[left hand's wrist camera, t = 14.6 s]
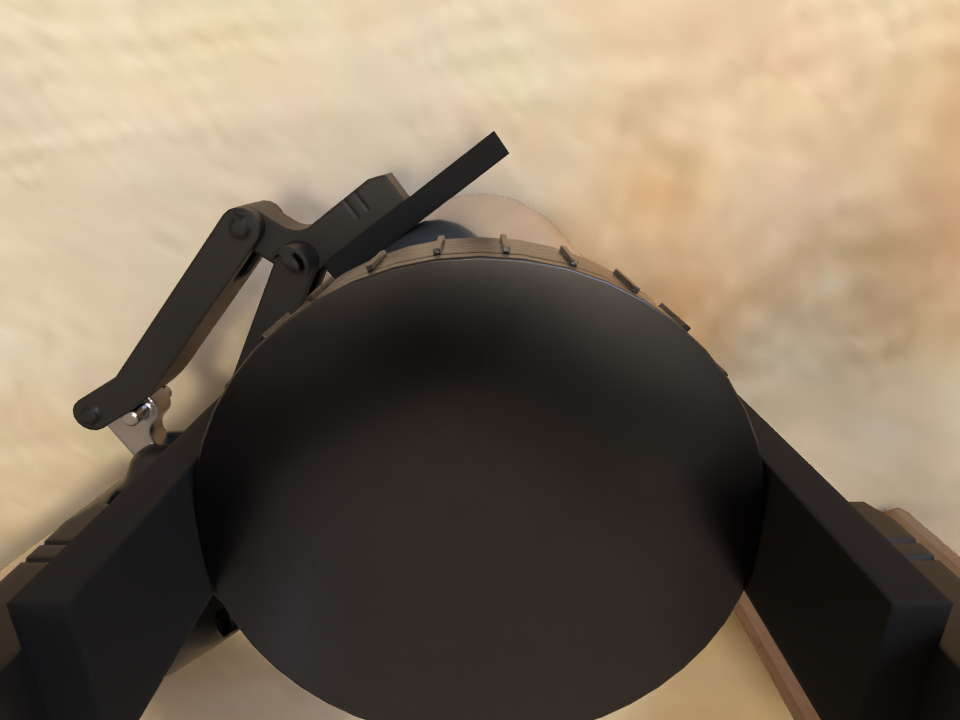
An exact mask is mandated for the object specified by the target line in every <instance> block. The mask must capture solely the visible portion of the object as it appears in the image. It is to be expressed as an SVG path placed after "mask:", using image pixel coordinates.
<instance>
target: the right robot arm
mask: <svg viewBox="0 0 960 720" xmlns="http://www.w3.org/2000/svg"><path fill="white" fill-rule="evenodd" d="M508 154H509V152H508V151H507V149H506V148H505V146H504V145H503V143H502V142H501V140H500V139H499V137H498V136H497V134H496V133H495V132H494V131H493V132H492V133H491V134H490V135H488V136H487V137H486V138H484V139H483V140H482V141H481V142H479V143H478V144H477V145H476V146H474V147H473V148H472V149H470V150H469V151H468V152H467V153H465V154H464V155H463V156H461V157H460V158H459V159H458V160H456V161H455V162H454V163H453V164H451V165H450V166H449V167H447V168H446V169H445V170H444V171H442V172H441V173H440V174H438V175H437V176H436V177H435V178H433V179H432V180H431V181H430V182H428V183H427V184H426V185H424V186H423V187H422V188H421V189H419V190H418V191H417V192H415V193H414V194H413V195H412V196H410V197H409V195H408V194H407V193H406V191H405V190H404V189H403V187H402V186H401V185H400V183H399V182H398V181H397V179H396V178H395V177H394V175H393V174H392V173H389V174H385V175H381V176H378V177H374V178H371V179H368V180H367V181H365V182H364V183H363V184H362V185H361V186H359V187H358V188H357V189H356V190H354V191H353V192H352V193H351V194H349V195H348V196H347V197H346V198H345V199H343V200H342V201H341V202H339V203H338V204H337V205H336V206H334V207H333V208H332V209H331V210H330V211H328V212H327V213H326V214H325V215H323V216H322V217H321V218H320V219H318V220H317V221H316V222H315V223H313V224H310V225H306V224H301V223H299V222H297V221H295V220H293V219H292V218H290V217H289V216H287V215H285V214H284V213H283V212H282V210H281V209H280V208H279V207H278V205H277V204H275V203H273V202H271V201H264V200H263V201H259V202H254V203H251V204H247V205H243V206H239V207H236V208H233V209H229V210H228V211H227V212H226V213H225V214H224V215H223V216H222V217H221V219H220V220H219V222H218V223H217V225H216V226H215V228H214V229H213V231H212V233H211V234H210V236H209V237H208V239H207V240H206V242H205V243H204V245H203V246H202V248H201V249H200V251H199V252H198V254H197V255H196V257H195V258H194V260H193V261H192V263H191V264H190V266H189V267H188V269H187V270H186V272H185V273H184V275H183V276H182V278H181V279H180V281H179V282H178V284H177V285H176V287H175V288H174V290H173V291H172V293H171V294H170V296H169V298H168V299H167V301H166V302H165V304H164V305H163V307H162V308H161V310H160V311H159V313H158V314H157V316H156V317H155V319H154V320H153V322H152V323H151V325H150V326H149V328H148V329H147V331H146V332H145V334H144V335H143V337H142V338H141V340H140V341H139V343H138V344H137V346H136V347H135V349H134V350H133V352H132V353H131V355H130V356H129V358H128V359H127V361H126V363H125V364H124V366H123V367H122V369H121V370H120V372H119V373H118V375H117V376H116V377H115V378H113V379H111V380H110V381H108V382H107V383H105V384H104V385H102V386H100V387H99V388H97V389H96V390H94V391H93V392H91V393H89V394H88V395H86V396H85V397H83V398H82V399H80V400H78V401H77V403H76V404H75V405H74V408H73V414H74V417H75V419H76V420H77V422H78V423H79V424H80V425H82V426H83V427H85V428H87V429H90V430H99V429H102V428H104V427H106V426H108V427H109V428H110V429H111V430H112V431H113V432H114V433H115V435H116V436H117V437H118V438H119V439H120V440H121V441H122V442H123V444H124V445H125V446H126V447H127V448H128V449H129V450H130V451H131V453H132V454H133V455H134V457H133V458H132V460H131V462H130V465H129V469H128V473H127V475H126V477H124V478H123V479H122V480H120V481H119V482H118V483H116V484H115V485H114V486H112V487H111V488H110V489H108V490H107V491H106V492H105V493H103V494H102V495H101V496H99V497H98V498H97V499H95V500H94V501H93V502H91V503H90V504H89V505H87V506H86V507H85V508H83V509H82V510H81V511H79V512H78V513H77V514H75V515H74V516H76V515H78V514H80V513H81V512H83V511H85V510H87V509H88V508H90V507H92V506H94V505H96V504H110V503H111V502H112V501H113V500H114V499H115V498H116V497H117V496H118V495H119V494H120V493H121V492H122V491H123V490H124V489H125V488H126V487H127V486H128V485H129V484H130V483H131V482H132V481H133V480H134V479H135V478H136V477H137V476H138V475H140V474H141V473H142V472H143V471H144V470H145V469H146V468H147V467H148V466H149V465H150V464H151V463H152V462H153V461H154V460H155V459H156V458H157V457H158V456H159V455H160V454H161V453H162V452H163V451H164V450H165V449H166V448H167V447H168V446H169V445H170V444H171V443H173V442H174V441H175V440H176V439H177V438H178V437H179V436H180V435H181V434H182V433H183V432H184V431H168V432H167V431H166V430H165V428H164V426H163V423H162V418H163V416H164V414H165V413H166V412H167V410H168V409H169V408H170V405H171V400H170V397H171V395H172V391H171V389H170V388H169V387H167V386H166V384H168V383H169V382H170V381H172V380H173V379H174V378H175V377H176V376H177V375H178V374H179V373H181V372H182V370H183V369H184V368H185V367H186V365H187V364H188V363H189V362H190V360H191V359H192V357H193V356H194V354H195V353H196V352H197V350H198V349H199V347H200V346H201V344H202V343H203V342H204V340H205V339H206V337H207V336H208V334H209V333H210V332H211V330H212V329H213V327H214V326H215V324H216V323H217V322H218V320H219V319H220V317H221V316H222V314H223V313H224V312H225V310H226V309H227V307H228V306H229V305H230V303H231V302H232V300H233V299H234V297H235V296H236V295H237V293H238V292H239V290H240V289H241V287H242V286H243V285H244V283H245V282H246V280H247V279H248V277H249V276H250V275H251V273H252V272H253V270H254V269H255V267H256V266H257V265H258V263H259V262H260V260H261V259H262V257H264V258H265V259H267V260H269V261H270V262H272V263H273V264H274V265H273V268H272V270H271V273H270V276H269V279H268V281H267V284H266V287H265V290H264V292H263V295H262V298H261V301H260V303H259V306H258V309H257V311H256V314H255V317H254V320H253V322H252V325H251V328H250V331H249V333H248V336H247V339H246V342H245V344H244V347H243V350H242V352H241V355H240V358H239V361H238V363H237V366H236V369H235V372H234V374H235V373H236V372H237V370H238V369H239V368H240V367H241V365H242V364H243V363H244V361H245V360H246V359H247V358H248V356H249V355H250V354H251V353H252V351H253V350H254V349H255V348H256V347H257V346H258V345H259V344H260V343H261V341H260V340H259V338H260V337H261V336H262V335H263V334H264V333H265V332H266V331H267V330H268V329H269V328H271V327H272V326H273V325H274V324H275V323H276V322H277V321H279V320H280V319H281V318H282V317H283V316H284V315H285V314H287V313H288V312H289V313H290V314H293V313H294V312H295V311H296V310H297V309H298V308H299V307H300V306H302V305H303V304H304V303H305V302H306V301H307V300H308V299H307V298H306V297H307V296H308V295H309V294H311V293H312V292H313V291H314V290H315V289H316V288H317V287H319V286H320V285H321V284H322V282H323V279H324V277H325V274H326V272H327V270H328V272H329V273H330V274H331V275H332V276H333V278H334V279H336V278H338V277H339V276H341V275H342V274H344V273H346V272H348V271H350V270H352V269H354V268H356V267H358V266H360V265H362V264H364V263H365V262H367V261H369V260H371V259H373V258H374V257H375V256H376V255H377V254H378V253H379V252H380V251H382V250H384V249H385V248H387V247H388V246H389V245H391V244H392V243H393V242H395V241H396V240H397V239H399V238H400V237H401V236H402V235H404V234H405V233H406V232H408V231H409V230H410V229H412V228H413V227H414V226H415V225H417V224H418V223H419V222H421V221H422V220H423V219H425V218H426V217H427V216H428V215H430V214H431V213H432V212H434V211H435V210H436V209H438V208H439V207H440V206H441V205H443V204H444V203H445V202H447V201H448V200H449V199H451V198H452V197H453V196H454V195H456V194H457V193H458V192H460V191H461V190H462V189H464V188H465V187H466V186H467V185H469V184H470V183H471V182H473V181H474V180H475V179H477V178H478V177H479V176H480V175H482V174H483V173H484V172H486V171H487V170H488V169H490V168H491V167H492V166H494V165H495V164H496V163H497V162H499V161H500V160H501V159H503V158H504V157H505V156H507V155H508ZM234 374H233V375H234ZM74 516H73V517H74ZM73 517H71V518H73ZM71 518H70V519H71ZM55 531H56V530H55ZM55 531H53V532H51V533H50V534H49V535H47V536H46V537H45V538H44V539H42V540H41V541H40V542H38V543H37V544H36V545H34V546H33V547H32V548H30V549H29V550H28V551H26V552H25V553H24V554H22V555H21V556H20V557H18V558H17V559H16V560H14V561H13V562H12V563H11V564H9V565H8V566H7V567H5V568H4V569H3V570H1V571H0V581H1V580H2V579H3V578H4V577H6V576H7V575H8V574H9V573H10V572H11V571H12V570H13V569H14V568H15V567H16V566H18V565H19V564H20V563H21V562H25V561H26V557H27V556H29V555H30V554H31V553H32V552H33V551H34V550H35V549H36V548H37V547H38V546H40V545H44V541H45V540H46V539H47V538H48V537H49V536H51V535H52V534H53V533H54V532H55ZM238 630H240V629H239V628H238V626H237V625H236V624H235V622H234V621H233V619H232V618H231V616H230V614H229V613H228V611H227V609H226V608H225V606H224V604H223V603H222V601H221V600H220V598H219V596H218V594H217V592H216V591H215V592H214V594H213V596H212V597H211V599H210V601H209V602H208V604H207V606H206V607H205V609H204V611H203V613H202V614H201V616H200V618H199V619H198V621H197V623H196V624H195V626H194V628H193V629H192V631H191V633H190V635H189V636H188V638H187V640H186V641H185V643H184V645H183V646H182V648H181V650H180V651H179V653H178V655H177V656H176V658H175V660H174V662H173V663H172V665H171V667H170V668H169V670H168V672H167V673H166V675H165V677H166V676H168V675H170V674H172V673H174V672H176V671H177V670H179V669H180V668H182V667H183V666H185V665H187V664H188V663H190V662H191V661H193V660H194V659H196V658H197V657H199V656H201V655H202V654H204V653H205V652H207V651H208V650H210V649H212V648H213V647H215V646H216V645H218V644H219V643H221V642H223V641H224V640H226V639H227V638H229V637H230V636H232V635H233V634H234V633H236V632H237V631H238ZM165 677H164V678H165ZM164 678H163V679H164Z"/></svg>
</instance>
